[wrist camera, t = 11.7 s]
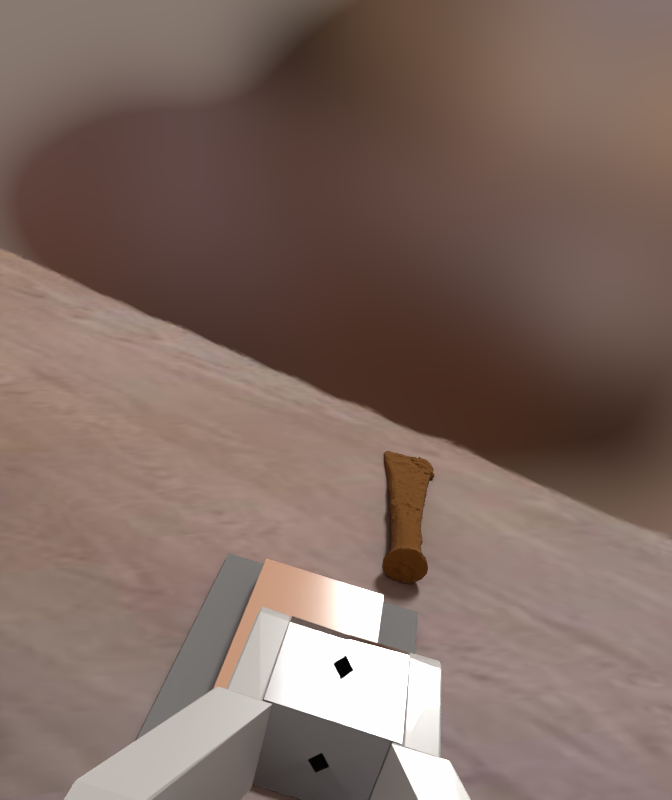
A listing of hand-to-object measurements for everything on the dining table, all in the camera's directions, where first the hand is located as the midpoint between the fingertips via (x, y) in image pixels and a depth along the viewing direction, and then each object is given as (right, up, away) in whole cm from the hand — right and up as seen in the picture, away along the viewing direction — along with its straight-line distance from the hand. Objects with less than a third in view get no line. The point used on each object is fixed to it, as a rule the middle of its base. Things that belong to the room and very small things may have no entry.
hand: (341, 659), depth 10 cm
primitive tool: (+6, -7, +46) cm, 47 cm away
